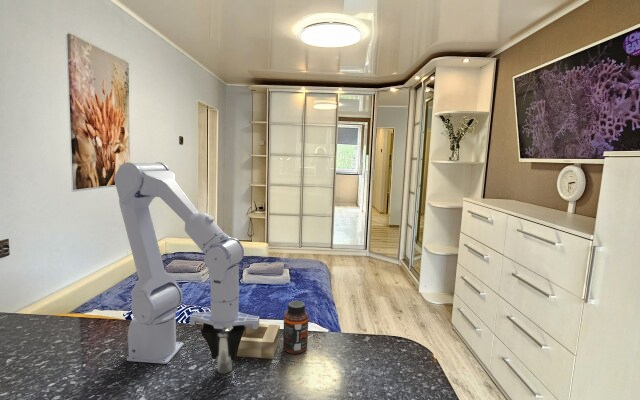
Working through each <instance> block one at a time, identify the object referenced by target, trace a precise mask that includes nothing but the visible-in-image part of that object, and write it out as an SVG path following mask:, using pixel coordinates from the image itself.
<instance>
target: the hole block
mask: <svg viewBox="0 0 640 400" xmlns="http://www.w3.org/2000/svg"><path fill="white" fill-rule="evenodd" d="M280 327H281V325H280V324H267V323H266V324H265V323H259V327H258V328H257V329H252V327H246V329H245V331H244V333H243V335H242V338H241V341H240V344H239V348H238V353H237V357H244V358H245V357H246V358H258V359H259V358H260V359H273V360H274V357H275V355H276V350H277V347H278V346H279V342H280V335H281V334H280V333H281V332H280Z"/></svg>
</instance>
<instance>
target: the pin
mask: <svg viewBox="0 0 640 400" xmlns="http://www.w3.org/2000/svg"><path fill="white" fill-rule="evenodd" d="M232 328H233V326H228V327H224V328H223V329H216V336H217V337H218V356H217V372H218V373H219V374H220V375H221V374H222V375H223V374H225V375H226V374H229V373H230V372H231V371H232V370H233V360H231V341H230V336H229V333H230V331H231V330H232Z"/></svg>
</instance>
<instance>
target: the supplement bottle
mask: <svg viewBox="0 0 640 400" xmlns="http://www.w3.org/2000/svg"><path fill="white" fill-rule="evenodd" d="M287 305H288V306H287V310H285V312H284V314H283V345H282V346H283V350H284V351H286V352H287V353H289V354H294V355H297V354H301V353H303V352H305V351H306V350H307V348H308V344H309V343H308V342H309V340H308V337H309V336H308V335H309V312H308V311H306V310H305V309H306V305H305V302H303V301H301V300H292V301H289V302H288V304H287Z"/></svg>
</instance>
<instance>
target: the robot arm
mask: <svg viewBox="0 0 640 400" xmlns="http://www.w3.org/2000/svg"><path fill="white" fill-rule="evenodd" d="M113 180H114V184H115V188H116V191H117V194H118V195H117V196H118V202H119V203H118V204H119V209H120V212H121V215H122V218H123V223H124V226H125V231H126V235H127V238H128V242H129V246H130V251H131V254H132V256H133V257H132V258H133V260H134V261H133V262H134V265H135V270H136V272H137V276H138V279H137V282H136V284H135V285H134V286H133V288H132V290H131V291H130V295H131V306H130V308H131V312H132V316H133V318H132V320H131V321H130V323H129V326H128V330H127V345H128V347H127V348H128V357H126V361H128V362H138V363H148V364H149V363H152V364H168V363H169V362H170V361H171V360H172V359H173V358H174V357H175V355H176V354H177V353H178V352H179V351H180V350H181V348H183V346H184V342H183V341H182V342H179V341H177V329H176V327H177V323H176V321H177V320H176V319H177V318H176V316H177V315H176V313H177V312H178V307H179V306H181V304H182V302H183V299H184V298H183V292H182V289H181V288H180V286H179V285H178V283H177V281H176V277H175V276H174V275H172V274H170V273H168V272H166V270H165V267H164V262H163V257H162V254H161V250H160V247H159V243H158V240H157V236H156V231H155V227H154V224H153V218H152V215H151V211H150V208H149V206H150V205H151V203H152V201H153V200H154V199H155V198H160V199H161V200H162V201H163V202H164V203H165V204H166V205H167V206H168V207H169V208H170V209H171V210H172V211H173V212H174V213H175V214H176V215H177V216H178V217H179V218H180V219H181V220H182V222H184V232H185V233H186V234H187V235H188V236H189V238H190V239H191V240H192V241H193V242H194V243H195V245H196V246H197V247H198V248H199V250H201V251H202V253H203V254H204V256H203V262H204V265H205V266H206V268H207V269H208V277H210V311H202V312H200V311H199V312H193V313H192V314H190V316H189V325H190V326H195V325H202V328H201V330H200V333H201V336H202V337H203V338H204V340H205V341H206V342H205V343H206V344H207V345H208V348H209V351H210V354H211V357H212V358H211V359H213V360H214V359H216V358H218V337H217V336H216V329H223V328H224V327H228V326H231V327H233V328H232V330H231V331H230V333H229V336H230V341H231V360H232V361H235V360H236V358H237V357H238V356H237V353H238V348H239V344H240V341H241V338H242V335H243V333H244V331H245V329H246V327H252V329H257V328H258V327H259V324H260V316H258V315H251V314H247V313H243V312H240V311H239V309H240V308H239V304H240V302H239V299H240V298H239V297H240V295H239V293H240V292H239V289H240V286H239V285H240V280H239V279H240V276H239V275H240V273H239V271H240V267H239V266H240V264H239V263H240V262H241V261H242V260H243V258H244V254H245V250H244V247H243V245H242V243H241V241H240V240H239V239H237V238H235V237H230V236H229V235H228V234H227V233H226V232H224V230H222V228H221V227H219V225H218V224H217V223H216V221H215V218H214V217H213V215H211V214H210V215H209V214H208V213H206V212H199V210H198V209H197V208H196V206H195V205H194V204H193V203H192V201H191V200H190V199H189V197H188V196H187V195H186V194H185V192H184V191H183V189H182V188H181V187H180V186H179V184H178V183H177V181H176V175H175V173H174V172H173V171H172V170H170V168H169V166H168V165H167V164H165V163H164V162H160V161H157V162H135V163H134V162H129V161H128V162H123V163H122V164H120V166H119V167H118V169H117V170H116V172H115V174H114V176H113Z"/></svg>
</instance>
